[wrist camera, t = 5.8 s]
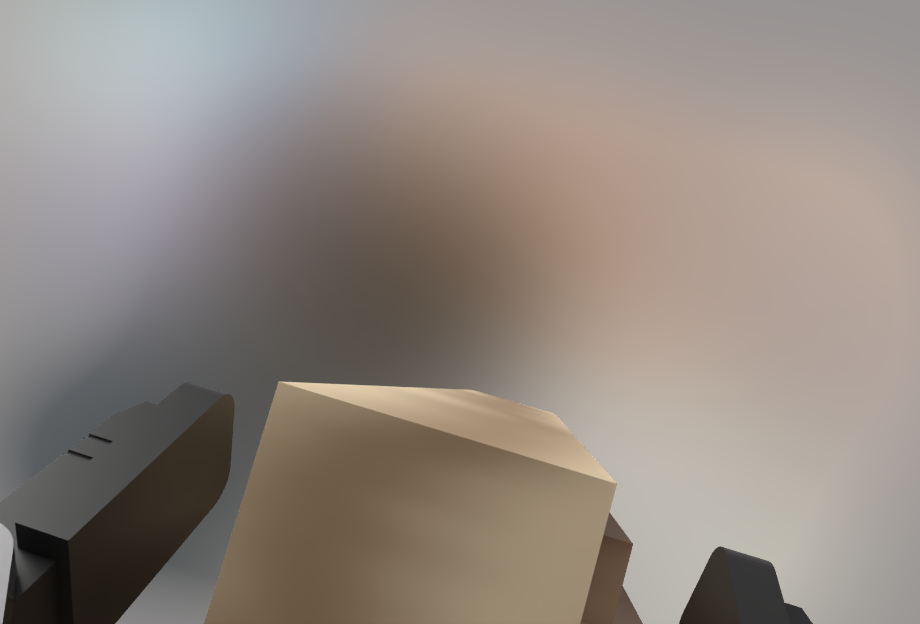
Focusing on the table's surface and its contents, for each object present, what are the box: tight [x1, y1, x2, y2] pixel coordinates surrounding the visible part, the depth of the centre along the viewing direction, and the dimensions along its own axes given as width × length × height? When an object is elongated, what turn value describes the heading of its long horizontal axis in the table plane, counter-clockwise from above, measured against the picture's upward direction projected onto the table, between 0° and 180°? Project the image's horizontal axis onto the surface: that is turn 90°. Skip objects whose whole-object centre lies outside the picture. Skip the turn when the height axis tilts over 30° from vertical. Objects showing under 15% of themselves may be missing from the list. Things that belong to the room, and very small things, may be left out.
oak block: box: [204, 382, 617, 624], centre depth 20 cm, size 4×25×4 cm, turn 174°
